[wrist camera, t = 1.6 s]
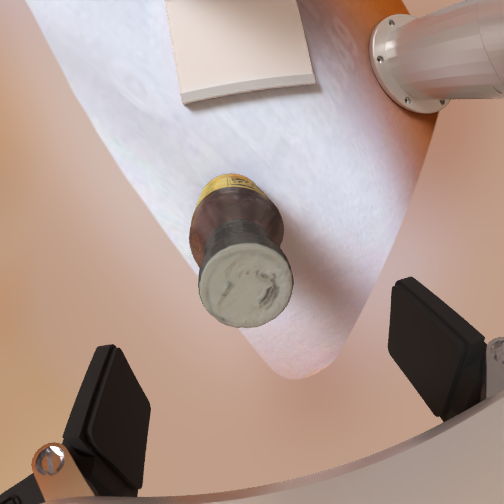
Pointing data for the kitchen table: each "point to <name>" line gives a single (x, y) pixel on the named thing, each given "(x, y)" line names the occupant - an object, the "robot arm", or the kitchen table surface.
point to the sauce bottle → (240, 253)
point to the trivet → (237, 46)
